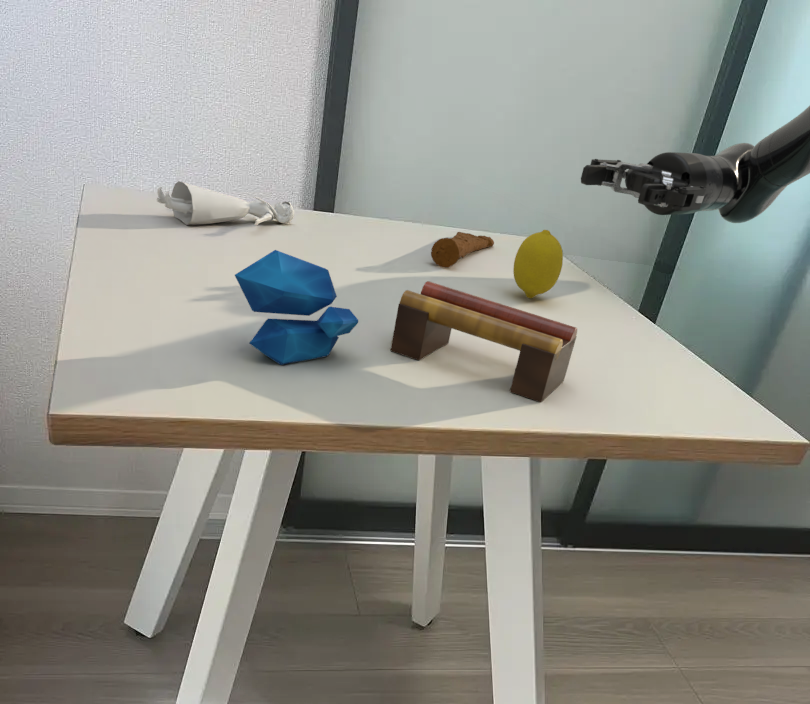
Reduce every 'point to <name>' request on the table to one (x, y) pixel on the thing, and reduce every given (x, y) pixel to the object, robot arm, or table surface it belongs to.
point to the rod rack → (486, 334)
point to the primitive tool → (457, 247)
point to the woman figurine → (219, 206)
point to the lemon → (538, 263)
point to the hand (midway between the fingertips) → (613, 184)
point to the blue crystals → (293, 308)
